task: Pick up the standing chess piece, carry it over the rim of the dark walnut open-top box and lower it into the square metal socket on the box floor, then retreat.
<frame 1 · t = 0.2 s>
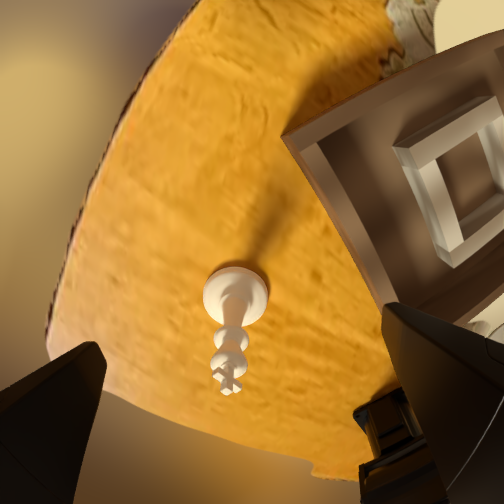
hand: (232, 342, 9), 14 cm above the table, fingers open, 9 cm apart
wineglass: (497, 345, 26), on the table
chess piece: (235, 294, 24), on the table
walnut box: (454, 173, 20), on the table
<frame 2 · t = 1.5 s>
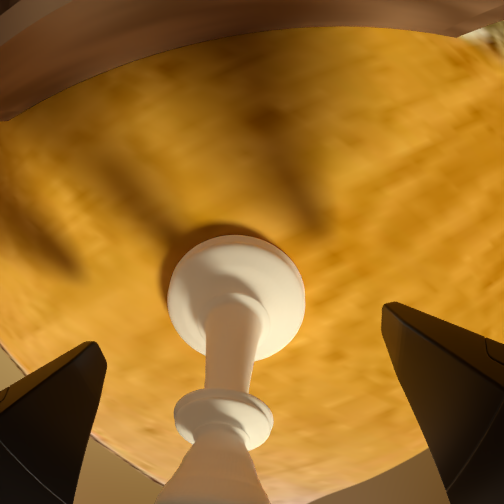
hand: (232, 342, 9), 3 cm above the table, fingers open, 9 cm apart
chess piece: (236, 297, 11), on the table
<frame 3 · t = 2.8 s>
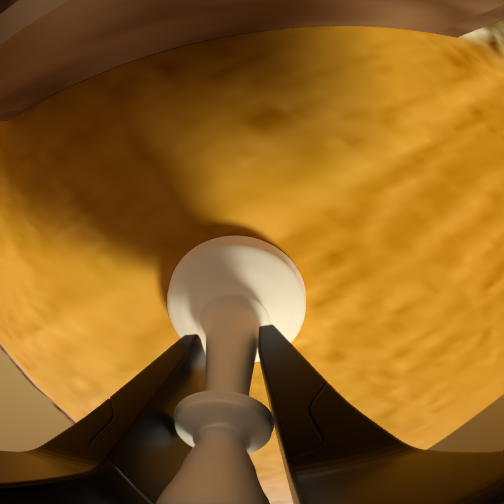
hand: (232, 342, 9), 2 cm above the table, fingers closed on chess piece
chess piece: (236, 298, 11), on the table, touching gripper
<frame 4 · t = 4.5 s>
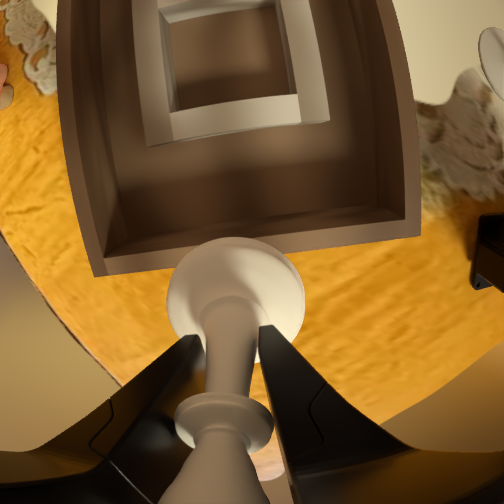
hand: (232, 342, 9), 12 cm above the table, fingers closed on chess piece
chess piece: (236, 299, 11), point 9 cm above the table, touching gripper
grandmother figurine: (1, 83, 16), on the table
walnut box: (229, 61, 16), on the table
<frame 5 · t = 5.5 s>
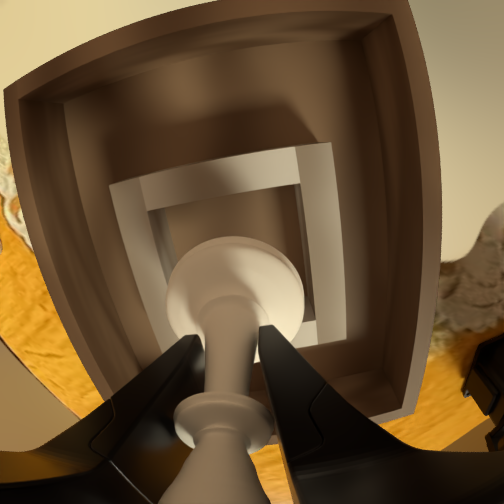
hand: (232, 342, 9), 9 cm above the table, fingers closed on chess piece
chess piece: (235, 299, 11), point 6 cm above the table, touching gripper
walnut box: (239, 243, 17), on the table
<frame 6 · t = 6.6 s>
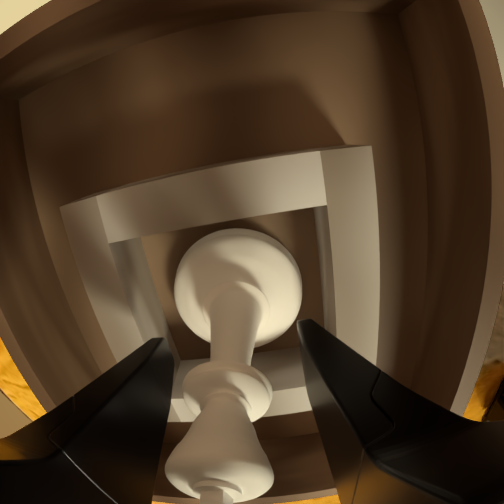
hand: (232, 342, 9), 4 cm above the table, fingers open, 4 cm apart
chess piece: (238, 287, 12), point 1 cm above the table, touching walnut box
walnut box: (238, 277, 13), on the table
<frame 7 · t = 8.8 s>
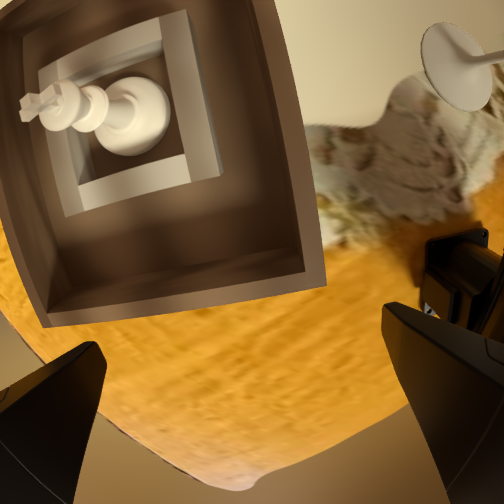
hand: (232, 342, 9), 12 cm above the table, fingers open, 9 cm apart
wineglass: (457, 66, 16), on the table
chess piece: (132, 116, 16), point 1 cm above the table, touching walnut box
walnut box: (136, 116, 17), on the table
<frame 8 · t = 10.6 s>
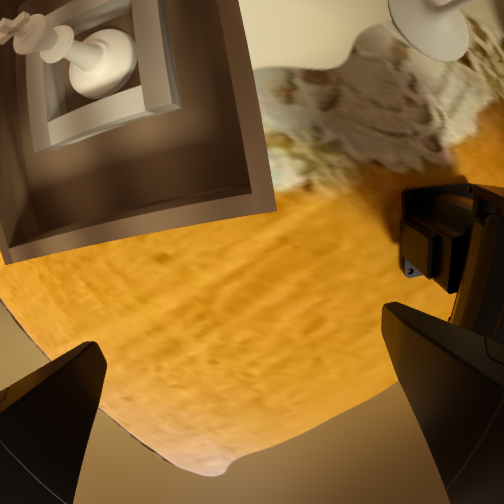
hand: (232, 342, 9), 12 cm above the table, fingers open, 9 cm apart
wineglass: (429, 19, 14), on the table
chess piece: (104, 64, 15), point 1 cm above the table, touching walnut box
walnut box: (109, 66, 16), on the table
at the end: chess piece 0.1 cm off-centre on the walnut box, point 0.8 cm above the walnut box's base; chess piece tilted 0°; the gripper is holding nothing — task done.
